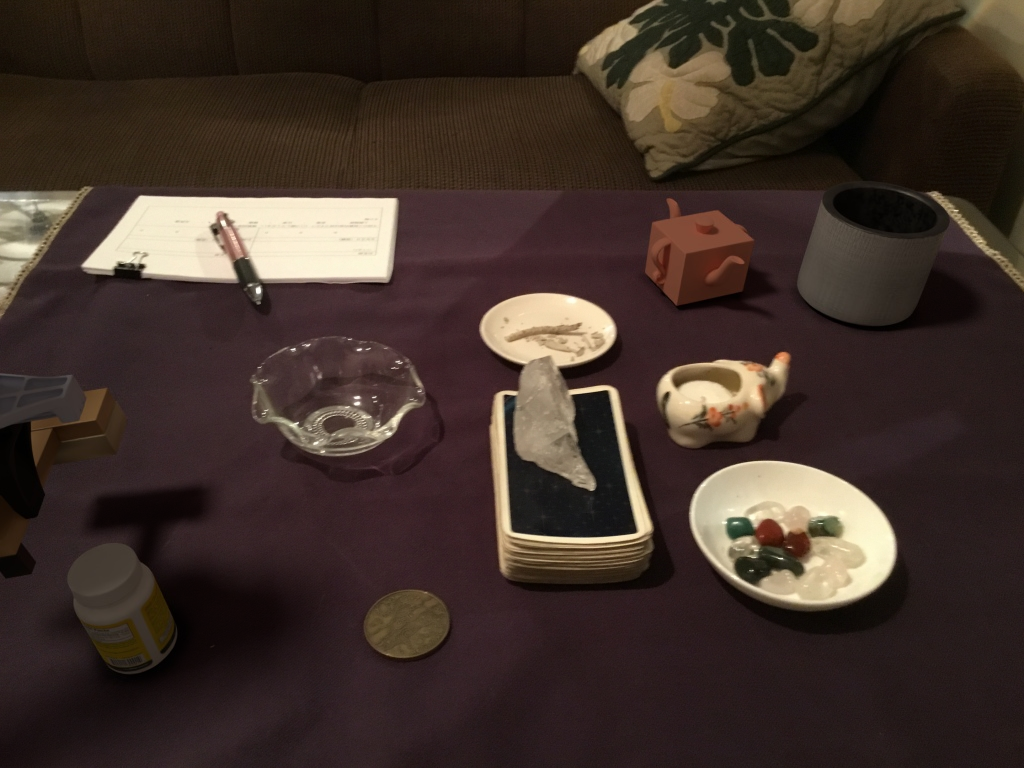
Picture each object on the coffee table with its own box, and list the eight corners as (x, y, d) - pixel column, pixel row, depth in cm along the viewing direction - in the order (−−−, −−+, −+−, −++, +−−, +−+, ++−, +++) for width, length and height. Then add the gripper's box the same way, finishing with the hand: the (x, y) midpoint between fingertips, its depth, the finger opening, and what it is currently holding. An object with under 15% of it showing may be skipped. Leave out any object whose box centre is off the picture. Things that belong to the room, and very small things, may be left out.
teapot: (680, 334, 82) (693, 265, 76) (614, 262, 92) (622, 197, 87) (775, 312, 85) (794, 244, 80) (702, 245, 96) (714, 181, 91)
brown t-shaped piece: (-45, 588, 49) (-76, 554, 47) (25, 437, 59) (2, 403, 57) (81, 565, 49) (56, 531, 47) (127, 420, 60) (109, 386, 58)
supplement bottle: (156, 602, 56) (121, 524, 51) (192, 642, 54) (158, 565, 48) (90, 646, 53) (45, 569, 48) (125, 690, 51) (82, 614, 46)
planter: (876, 346, 81) (913, 251, 74) (772, 294, 88) (797, 203, 81) (934, 302, 87) (974, 211, 80) (833, 256, 94) (861, 169, 87)
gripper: (50, 281, 44) (144, 444, 54) (-220, 322, 43) (-76, 481, 53) (13, 362, 39) (124, 526, 48) (-295, 411, 38) (-121, 570, 47)
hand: (18, 509), depth 50 cm, fingers closed on brown t-shaped piece, 2 cm apart
